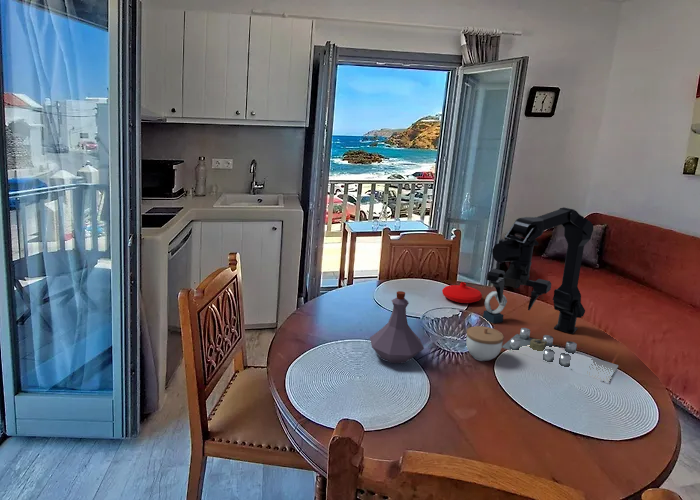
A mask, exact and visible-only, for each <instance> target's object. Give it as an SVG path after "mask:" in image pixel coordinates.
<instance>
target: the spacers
mask: <svg viewBox="0 0 700 500" xmlns="http://www.w3.org/2000/svg"><path fill="white" fill-rule="evenodd" d="M530 334H531V329H529V328H527V327H521V328H520V332H519V335H520V338H521V339H523V340H529V338H530V336H531V335H530ZM510 339H511V340H510ZM510 339H509V340H510V346H509V348H510V349H512V350H519V348H520V342H521V340H520V339H518V338H513V337H511V338H510ZM542 341H544V342H546V346H549V347H552V345H553V342H554V337H553V336H552V335H548V334H544V335H543V337H542ZM577 345H578V344H577V343H576V342H574V341H570V340H568V341H566V343H565V348H564V349H565V351H566V352H568V353H572V354H574V353H575V352H576V351H577ZM554 354H555V352H554V351H553V350H551V349H545V350H544V354H543V360H545V361H547V362H553V360H554ZM570 360H571V356H570V355H569V354H565V353H561V354H560V358H559V364H560V365H561V366H564V367H569V366H570ZM547 362H546V363H547Z"/></svg>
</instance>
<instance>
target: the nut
mask: <svg viewBox="0 0 700 500" xmlns="http://www.w3.org/2000/svg"><path fill="white" fill-rule="evenodd" d="M529 347H530V348H532V349H533V350H537V351H543V350H544V349H545V347H546V342H544V341H543V339H540V338H539V339H538V338H532V340H531V341H530V346H529Z"/></svg>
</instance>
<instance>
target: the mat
mask: <svg viewBox="0 0 700 500" xmlns="http://www.w3.org/2000/svg"><path fill="white" fill-rule="evenodd" d="M512 338H518V339H520V340H521V342H520V347H522V346H527V345H530V341H531V340H532V339H533V338H532V337H529V340H523V339H521V338H520V333H519V334H518V333H516V334H515V335H514V336H512ZM510 340H511V338H510V339H509V340H508V341H506V342H505V343H504V344H502V347H501V349H505V350H508V351H511V349H510V348H509V346H510ZM552 346H554V347H559V348H562V347H561V346H557V345H554V344H552ZM591 357H592V359H591V360H593V363H594V365H595V366H596V364H597V366H598V365H599V366H601V367H602V365H603V367H604V369H606V368H607V369H606V370H608V372H609V369H610V371H611V370H613V372H615V373H616V372H617V369H618V368H619V364H615V363H612V362H609V361H606V360H603V359H599V358H596V357H593V356H591ZM595 362H596V364H595ZM591 365H592V364H591ZM592 366H593V365H592ZM599 366H598V368H600V367H599ZM603 367H602V368H603ZM605 367H606V368H605ZM589 368H590V366H589ZM592 368H593V367H592ZM598 368H597V367H596V370H597V369H598ZM608 368H609V369H608ZM611 368H612V369H611ZM593 369H594V368H593ZM600 369H601V368H600ZM600 369H598V370H600ZM590 370H591V368H590ZM598 370H597V371H598ZM606 370H605V371H606ZM602 371H603V369H602ZM600 372H601V371H600ZM603 372H604V371H603ZM611 372H612V371H611ZM606 373H607V372H606ZM587 374H588V371H587ZM598 374H599V372H598ZM604 374H605V373H604ZM609 374H610V372H609ZM607 375H608V374H607ZM598 376H599V375H598ZM598 376H597V377H596V375H595V376H594V377H593V375H592V376H590V372H589V376H588V377H590V378H593V379H597V380H599V379H600V380H599V381H601V380H602V379H601V377H600V378H598ZM610 376H611V375H610ZM610 376H608V378H609V380H608V378H607V376H606V381H607V382H608V383H610V382H611V380H612V378H613V377H611V378H610ZM595 377H596V378H595ZM610 379H611V380H610ZM603 381H605V379H604V378H603ZM606 381H605V382H606ZM609 381H610V382H609Z"/></svg>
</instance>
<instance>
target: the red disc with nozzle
mask: <svg viewBox="0 0 700 500" xmlns="http://www.w3.org/2000/svg"><path fill="white" fill-rule="evenodd" d="M441 291H442V292H441V293H442V295H443V296H444V297H445V298H447V299H448V300H450V301H453V302H455V303H461V304H473V303H475V302H479V301H481V300H482V297H483V294H482V292H481V291H479V289H477V288H474V287H471V286H468V285H467V283H466V282H463V281H462V282H460V284H452V285H451V284H450V285H447V286H444V287H443V288H442V290H441Z"/></svg>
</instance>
